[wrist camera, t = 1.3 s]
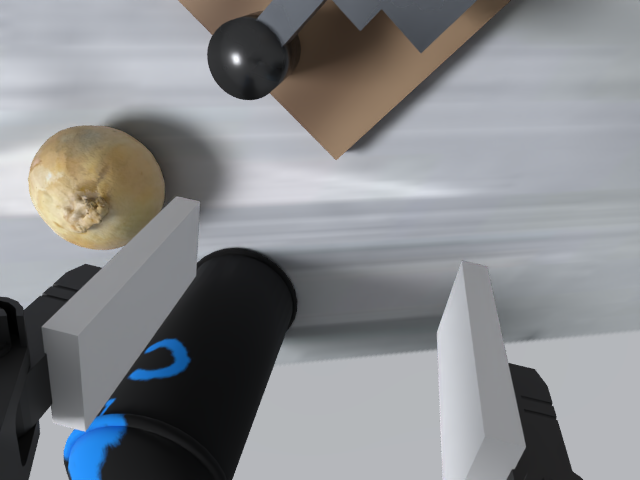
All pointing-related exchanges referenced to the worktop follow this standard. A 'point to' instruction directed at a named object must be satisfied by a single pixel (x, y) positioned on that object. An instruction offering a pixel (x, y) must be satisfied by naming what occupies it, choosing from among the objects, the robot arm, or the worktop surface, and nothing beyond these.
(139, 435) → the aerosol can
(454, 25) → the base
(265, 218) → the worktop surface
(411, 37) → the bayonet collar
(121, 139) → the onion
